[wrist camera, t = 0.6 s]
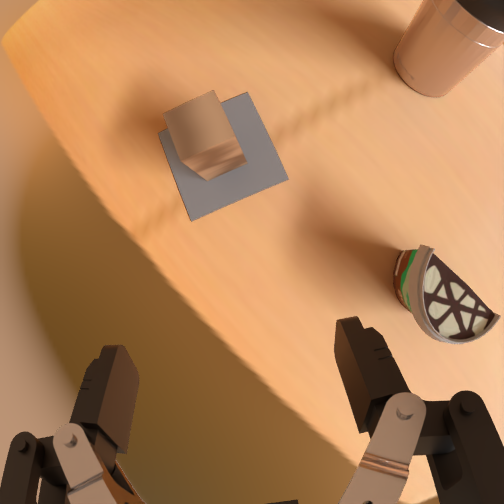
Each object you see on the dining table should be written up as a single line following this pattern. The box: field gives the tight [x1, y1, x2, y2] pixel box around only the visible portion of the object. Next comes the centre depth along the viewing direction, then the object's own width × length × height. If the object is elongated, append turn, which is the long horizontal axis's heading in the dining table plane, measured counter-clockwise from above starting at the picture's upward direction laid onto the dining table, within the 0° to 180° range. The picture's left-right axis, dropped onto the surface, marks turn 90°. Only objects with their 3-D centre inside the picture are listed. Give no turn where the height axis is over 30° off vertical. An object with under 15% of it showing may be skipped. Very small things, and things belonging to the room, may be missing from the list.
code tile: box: [158, 92, 289, 221], centre depth 35 cm, size 12×12×1 cm
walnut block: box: [163, 90, 248, 181], centre depth 30 cm, size 5×5×10 cm
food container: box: [394, 245, 501, 344], centre depth 29 cm, size 12×6×10 cm, turn 54°
